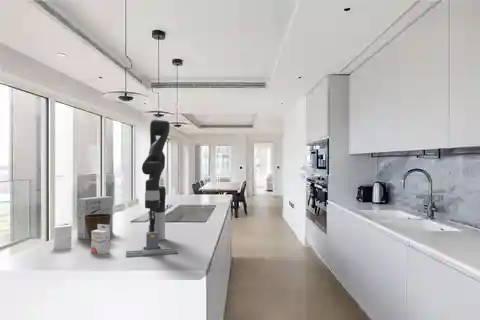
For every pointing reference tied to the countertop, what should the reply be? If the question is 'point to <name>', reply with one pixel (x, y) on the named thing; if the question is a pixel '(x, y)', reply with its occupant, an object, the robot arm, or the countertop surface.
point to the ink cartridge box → (100, 240)
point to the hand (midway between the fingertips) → (152, 231)
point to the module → (151, 240)
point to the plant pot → (96, 221)
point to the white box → (62, 237)
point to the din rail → (151, 252)
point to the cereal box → (93, 212)
